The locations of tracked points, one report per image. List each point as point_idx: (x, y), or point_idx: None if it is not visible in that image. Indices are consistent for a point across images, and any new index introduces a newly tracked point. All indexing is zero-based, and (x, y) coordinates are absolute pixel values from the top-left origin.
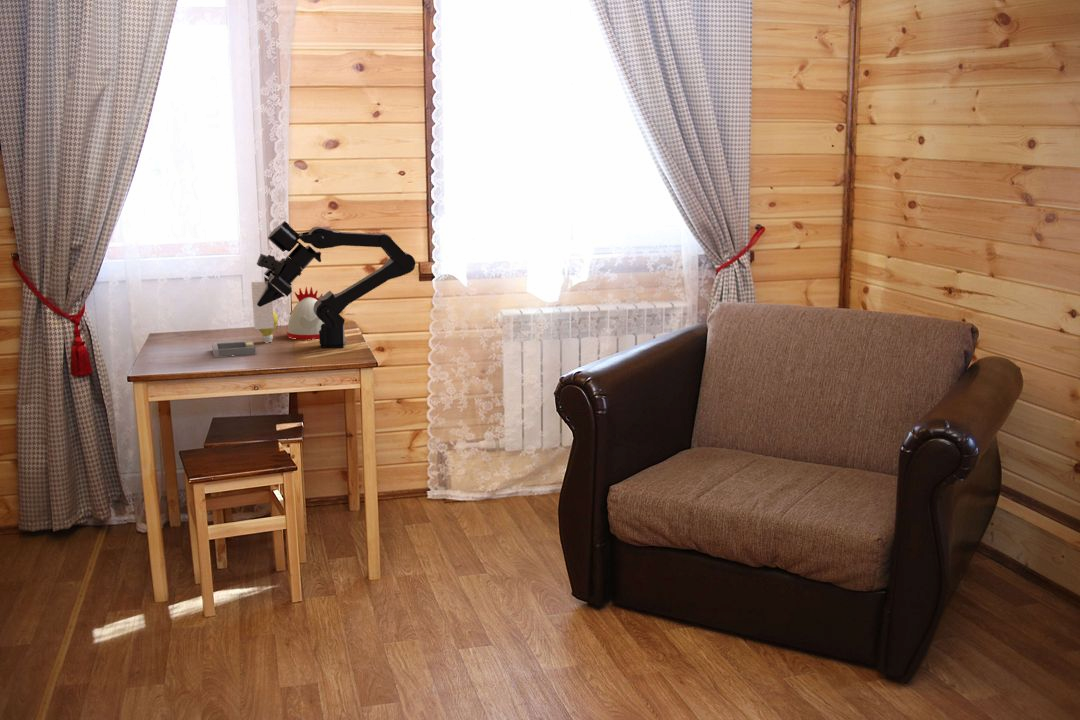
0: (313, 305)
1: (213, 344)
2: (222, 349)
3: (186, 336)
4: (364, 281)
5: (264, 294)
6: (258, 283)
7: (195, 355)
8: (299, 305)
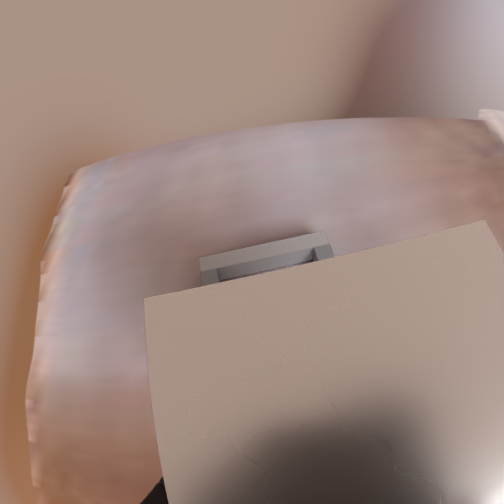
0: None
1: (302, 238)
2: (204, 283)
3: (480, 161)
4: None
5: (153, 493)
6: (315, 410)
7: (247, 214)
8: None
